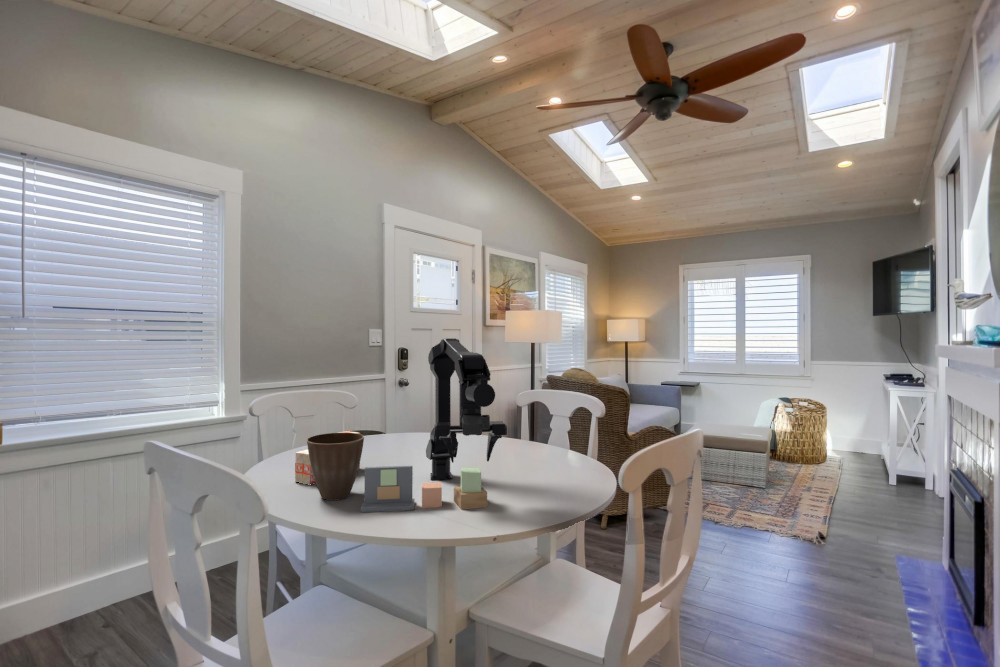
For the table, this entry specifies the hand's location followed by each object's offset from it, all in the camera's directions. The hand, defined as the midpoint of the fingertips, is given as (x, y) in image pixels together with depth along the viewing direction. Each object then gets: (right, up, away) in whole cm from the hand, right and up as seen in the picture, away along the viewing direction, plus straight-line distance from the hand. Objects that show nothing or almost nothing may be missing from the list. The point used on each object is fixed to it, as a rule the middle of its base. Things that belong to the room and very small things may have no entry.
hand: (470, 461), depth 133 cm
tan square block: (0, -11, 0) cm, 11 cm away
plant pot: (-37, -11, +6) cm, 39 cm away
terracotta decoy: (-10, -11, -1) cm, 15 cm away
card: (-21, -11, -3) cm, 24 cm away
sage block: (0, -7, 0) cm, 7 cm away
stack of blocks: (-46, -11, +26) cm, 54 cm away
